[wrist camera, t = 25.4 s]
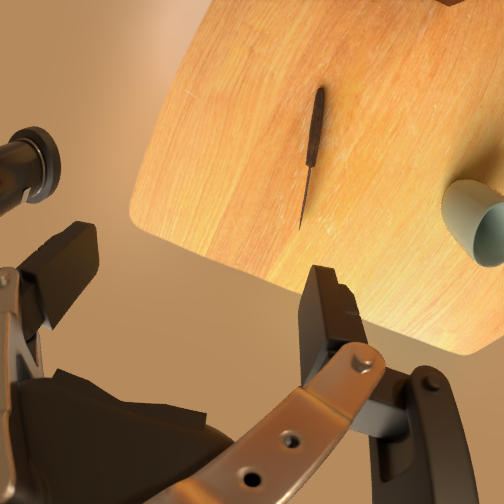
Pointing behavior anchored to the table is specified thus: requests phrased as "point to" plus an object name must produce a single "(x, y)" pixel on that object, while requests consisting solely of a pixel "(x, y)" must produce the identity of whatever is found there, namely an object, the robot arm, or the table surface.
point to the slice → (450, 2)
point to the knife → (314, 137)
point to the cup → (476, 220)
